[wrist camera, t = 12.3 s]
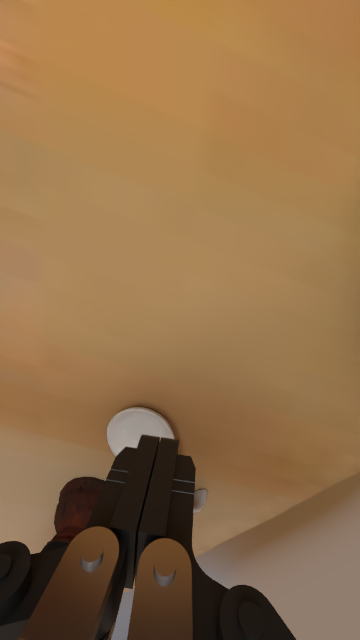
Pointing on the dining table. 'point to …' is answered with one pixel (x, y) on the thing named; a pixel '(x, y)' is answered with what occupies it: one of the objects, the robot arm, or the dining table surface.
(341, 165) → the dining table surface
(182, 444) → the dining table surface
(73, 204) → the dining table surface
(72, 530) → the lantern
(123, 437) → the spoon rest
